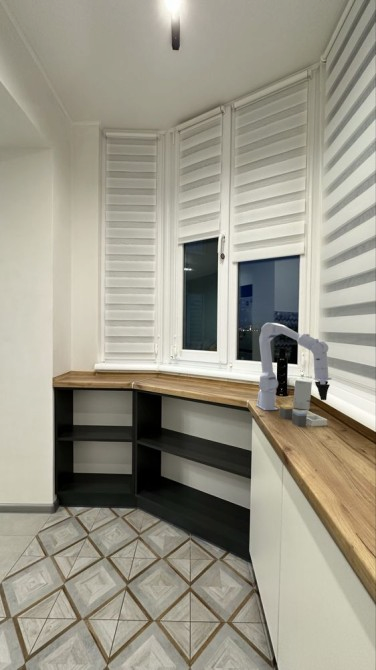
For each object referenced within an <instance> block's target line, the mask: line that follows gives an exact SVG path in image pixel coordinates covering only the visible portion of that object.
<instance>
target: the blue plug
mask: <svg viewBox="0 0 376 670" xmlns="http://www.w3.org/2000/svg"><path fill="white" fill-rule="evenodd" d="M306 418H307V413H305V412H303V410H293V416H292V424H293V425H294V426H296V427H306V426H307V424H306Z"/></svg>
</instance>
